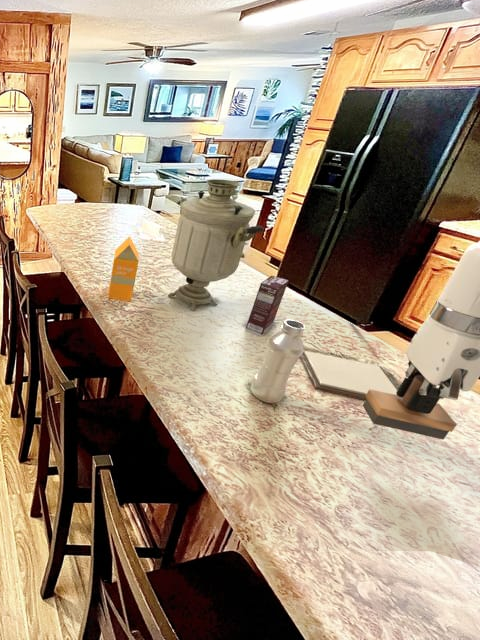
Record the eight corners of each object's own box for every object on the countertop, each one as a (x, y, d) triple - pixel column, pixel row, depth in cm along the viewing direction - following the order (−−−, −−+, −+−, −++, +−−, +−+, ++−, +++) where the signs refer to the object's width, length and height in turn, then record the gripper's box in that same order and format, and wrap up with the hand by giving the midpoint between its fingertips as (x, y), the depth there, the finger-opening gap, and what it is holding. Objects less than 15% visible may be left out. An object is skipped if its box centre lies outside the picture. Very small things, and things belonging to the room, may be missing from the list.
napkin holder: (137, 229, 200) (139, 218, 197) (160, 230, 198) (162, 220, 195) (141, 238, 187) (143, 227, 184) (165, 240, 185) (168, 229, 182)
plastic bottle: (279, 393, 91) (311, 321, 82) (281, 411, 85) (315, 336, 77) (248, 383, 94) (275, 312, 85) (248, 400, 88) (277, 327, 80)
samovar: (266, 325, 118) (316, 195, 100) (181, 324, 117) (216, 193, 100) (216, 282, 144) (248, 173, 127) (147, 281, 144) (169, 172, 126)
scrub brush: (428, 419, 73) (456, 378, 69) (445, 441, 68) (475, 398, 64) (360, 404, 76) (382, 364, 72) (372, 424, 72) (396, 382, 68)
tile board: (379, 368, 100) (381, 364, 99) (411, 411, 86) (414, 406, 86) (297, 351, 106) (299, 347, 105) (315, 389, 92) (317, 384, 92)
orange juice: (107, 298, 132) (116, 243, 123) (109, 286, 139) (117, 234, 130) (131, 301, 130) (142, 246, 121) (131, 290, 137) (141, 237, 128)
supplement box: (254, 320, 120) (271, 274, 113) (272, 327, 117) (290, 280, 110) (243, 330, 115) (260, 282, 108) (261, 337, 112) (279, 288, 105)
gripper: (536, 351, 54) (467, 444, 62) (464, 299, 68) (415, 381, 76) (465, 340, 57) (408, 430, 65) (409, 292, 71) (367, 372, 79)
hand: (412, 403), depth 70 cm, fingers closed on scrub brush, 2 cm apart
